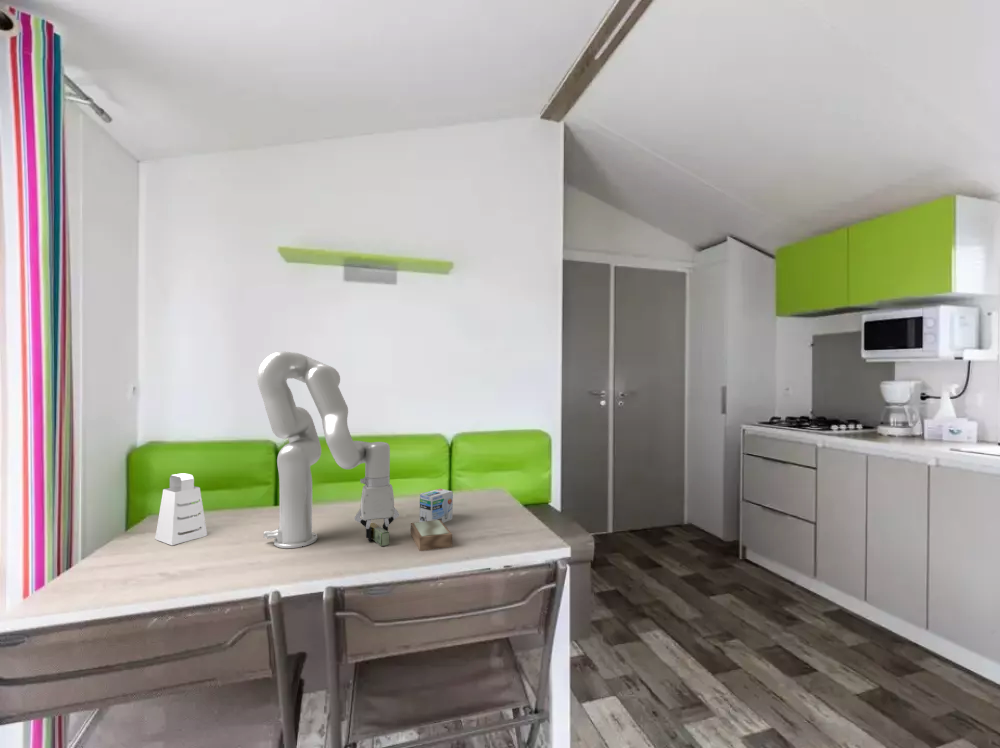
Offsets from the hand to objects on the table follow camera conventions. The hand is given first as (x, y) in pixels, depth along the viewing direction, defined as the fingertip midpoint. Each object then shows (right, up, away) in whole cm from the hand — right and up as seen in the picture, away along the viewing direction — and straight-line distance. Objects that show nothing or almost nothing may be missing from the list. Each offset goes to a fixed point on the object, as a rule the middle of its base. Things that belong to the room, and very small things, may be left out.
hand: (376, 538), depth 152 cm
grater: (-63, 0, +2) cm, 63 cm away
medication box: (0, -1, 0) cm, 1 cm away
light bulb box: (+16, -1, +19) cm, 25 cm away
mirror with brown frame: (+17, -1, 0) cm, 17 cm away
